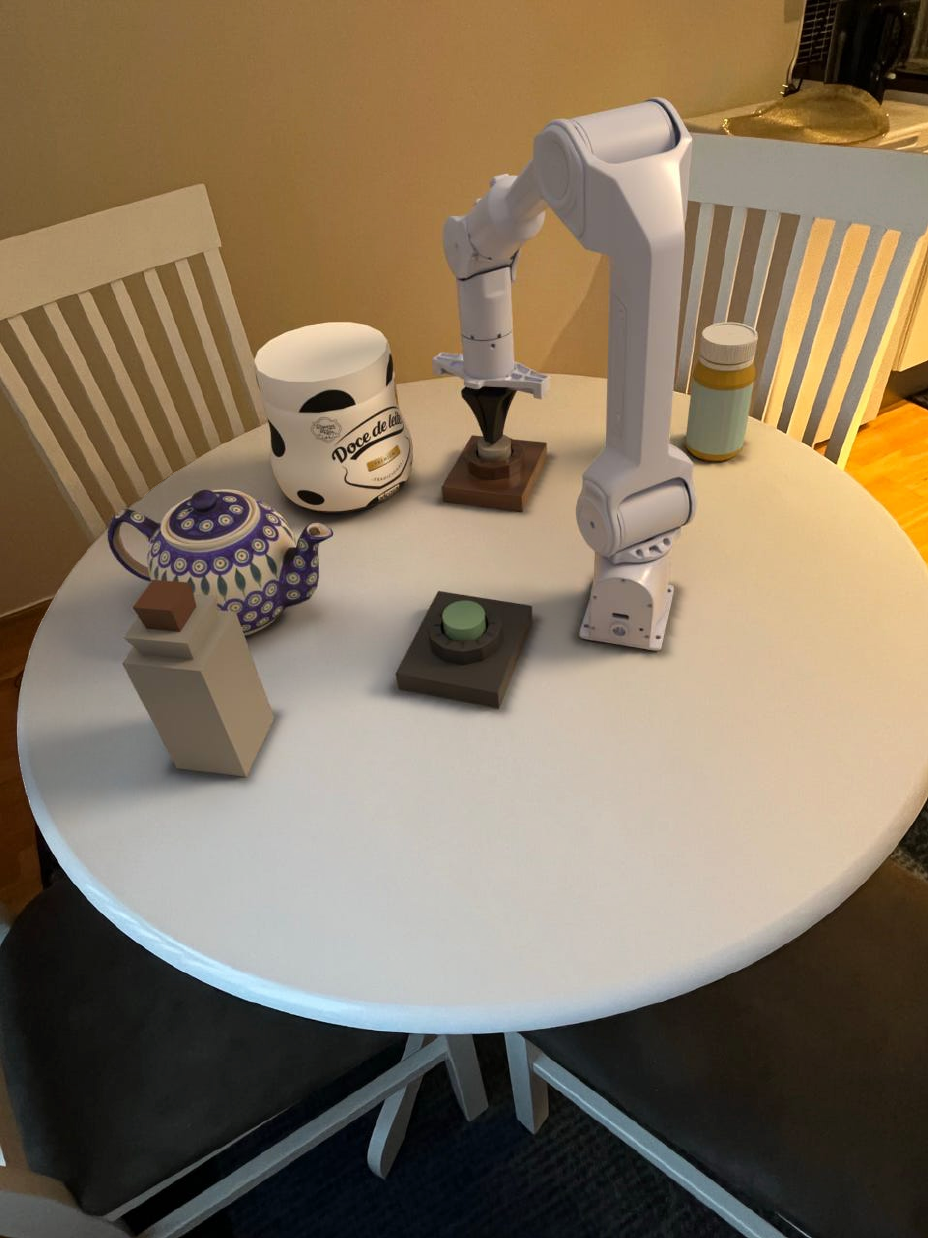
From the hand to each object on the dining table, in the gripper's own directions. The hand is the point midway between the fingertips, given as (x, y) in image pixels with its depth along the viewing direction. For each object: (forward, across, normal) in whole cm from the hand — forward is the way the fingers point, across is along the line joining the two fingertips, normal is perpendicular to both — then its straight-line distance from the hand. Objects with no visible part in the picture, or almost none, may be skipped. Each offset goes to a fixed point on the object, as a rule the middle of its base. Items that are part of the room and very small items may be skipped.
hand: (493, 438), depth 100 cm
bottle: (+6, +21, +18) cm, 28 cm away
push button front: (+6, +14, -27) cm, 31 cm away
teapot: (+6, -12, -33) cm, 36 cm away
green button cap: (+2, +14, -27) cm, 31 cm away
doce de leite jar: (+6, -16, -10) cm, 20 cm away
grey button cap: (+2, 0, 0) cm, 2 cm away
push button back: (+6, 0, 0) cm, 6 cm away
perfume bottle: (+6, 0, -48) cm, 48 cm away
